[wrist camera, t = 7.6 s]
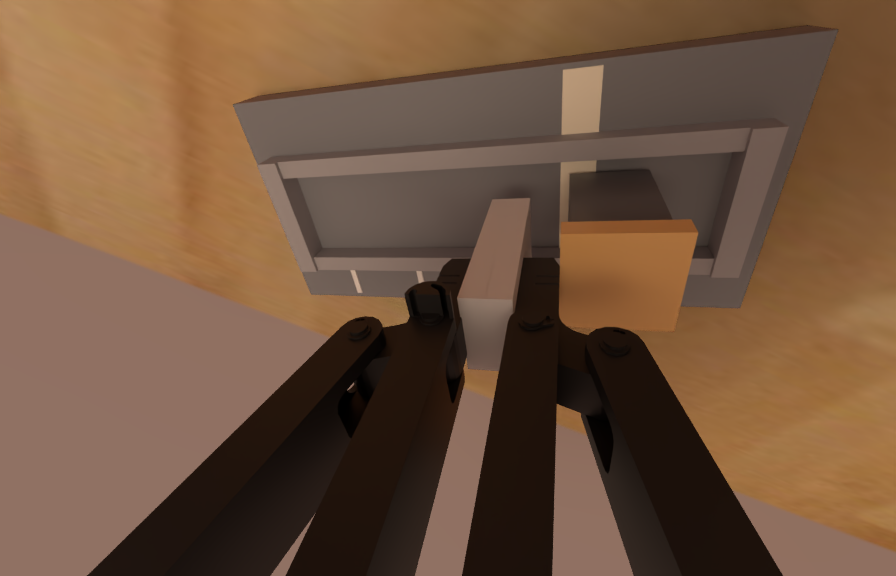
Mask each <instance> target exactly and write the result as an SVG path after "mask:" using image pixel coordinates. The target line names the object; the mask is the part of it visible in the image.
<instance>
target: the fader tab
mask: <svg viewBox="0 0 896 576" xmlns="http://www.w3.org/2000/svg"><path fill="white" fill-rule="evenodd" d="M697 236H698V231H697V229H696V227H695V225H694V223H693V222H692V220H691V219H681V220H673V218H672V216H671V214H670V212H669V210H668V208H667V205H666V203H665V201H664V199H663V197H662V195H661V193H660V191H659V188H658V186H657V184H656V182H655V180H654V178H653V176H652V174H651V172H650V170H634V171H614V172H595V173H575V174H570V176H569V204H568V222H561V237H560V283H559V317H560V319H561V321H562V323H563V324H565V325H566V326H567V327H578V328H603V327H619V328H623V329H627V330H641V331H662V332H674V330H675V326H676V322H677V318H678V314H679V310H680V306H681V302H682V298H683V294H684V290H685V285H686V281H687V277H688V273H689V269H690V265H691V261H692V257H693V253H694V249H695V244H696V240H697Z"/></svg>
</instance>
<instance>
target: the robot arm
mask: <svg viewBox="0 0 896 576" xmlns="http://www.w3.org/2000/svg"><path fill="white" fill-rule="evenodd" d="M559 283H560V265H559V264H558V263H557V261H556V260H555V259H554V258H532V253H531V208H530V198H515V199H492V202H491V205H490V207H489V210H488V213H487V216H486V219H485V221H484V224H483V227H482V230H481V233H480V235H479V238H478V241H477V244H476V247H475V249H474V252H473V255H472V258H452V259H451V260H450V261H448V262H447V263H446V264H445V265H444V266H443V267H442V269H441V272H440V274H439V277H438V278H437V280H436V281H426V282H421V283H418V284H415V285H414V286H412V287H410V288H409V289H408V290H407V291H406V292H405V293H404V295H405V299H406V303H407V307H408V311H409V315H410V317H409V320H408V322H407V323H404V324H400V325H395V326H389V327H384V328H383V327H382V324H381V322H380V321H379V320H378V319H376V318H374V317H366V316H365V317H359V318H355V319H353V320H351V321H348V322H347V323H346V324H344V325H343V326H342V327H341V328H340V329H339V330H338V331H337V332H336V333H335V334H334V335H332V336H331V337H330V338H329V339H328V340H327V341H326V343H325V344H323V345H322V346H321V347H320V348H319V349H318V350H317V351H316V352H315V353H314V354H313V355H312V356H311V357H310V358H309V359H308V360H307V361H306V362H305V363H304V364H303V365H302V366H301V367H300V368H299V369H298V370H297V371H296V372H295V373H294V374H293V375H292V376H291V377H290V378H289V379H288V380H287V381H286V382H285V383H283V385H281V386H280V388H279V389H277V390H276V391H275V392H274V394H272V395H271V396H270V397H269V398H268V399H267V400H266V401H265V402H264V403H263V404H262V405H261V406H260V407H259V408H258V409H257V410H256V411H255V412H254V413H253V414H252V415H251V416H250V417H249V418H248V419H247V420H246V421H245V422H244V423H243V424H242V425H241V426H240V427H239V428H238V429H237V430H235V431H234V433H232V434H231V436H229V437H228V438H227V439H226V440H225V441H224V442H223V443H222V444H221V445H220V446H219V447H218V448H217V449H216V450H215V451H214V452H213V453H212V454H211V455H210V456H209V457H208V458H207V459H206V460H205V461H204V462H203V463H202V464H201V465H200V466H199V467H198V468H197V469H196V470H195V471H194V472H193V473H192V474H191V475H190V476H189V477H187V479H186V480H185V481H183V483H181V485H179V486H178V487H177V488H176V489H175V490H174V491H173V492H172V493H171V494H170V495H169V496H168V497H167V498H166V499H165V500H164V501H163V502H162V503H161V504H160V505H159V506H158V507H157V508H156V509H155V510H154V511H153V512H152V513H151V514H150V515H149V516H148V517H147V518H146V519H145V520H144V521H143V522H142V523H141V524H139V526H137V527H136V528H135V529H134V530H133V531H132V532H131V533H130V534H129V535H128V536H127V537H126V538H125V539H124V540H123V541H122V542H121V543H120V544H119V545H118V546H117V547H116V548H115V549H114V550H113V551H112V552H111V553H110V554H109V555H108V556H107V557H106V558H105V559H104V560H103V561H102V562H101V563H100V564H99V565H98V566H97V567H96V568H95V569H94V570H93V571H92V572H91V573H90V574H88V575H87V576H270V575H271V574H272V573H273V571H274V570H275V568H276V567H277V566H278V564H279V563H280V561H281V560H282V559H283V557H284V556H285V554H286V553H287V552H288V550H289V549H290V547H291V546H292V545H293V543H294V542H295V541H296V539H297V538H298V536H299V535H300V534H301V532H302V531H303V529H304V528H305V527H306V525H307V524H308V523H309V521H310V520H311V518H312V517H313V516H314V514H315V516H314V518H313V520H312V522H311V524H310V526H309V528H308V530H307V532H306V534H305V536H304V538H303V541H302V543H301V545H300V547H299V549H298V551H297V553H296V555H295V557H294V560H293V561H292V563H291V566H290V568H289V570H288V572H287V574H286V576H415V572H416V568H417V565H418V560H419V557H420V553H421V549H422V545H423V541H424V538H425V534H426V530H427V526H428V522H429V518H430V514H431V510H432V507H433V503H434V499H435V495H436V491H437V487H438V483H439V479H440V475H441V472H442V468H443V464H444V460H445V456H446V452H447V448H448V445H449V441H450V437H451V433H452V429H453V425H454V421H455V417H456V413H457V410H458V406H459V402H460V398H461V394H462V390H463V386H464V383H465V376H464V370H463V367H464V364H465V360H466V358H467V365H468V369H479V370H491V371H499V374H498V379H497V385H496V391H495V396H494V402H493V408H492V413H491V418H490V424H489V430H488V435H487V441H486V446H485V452H484V457H483V463H482V468H481V474H480V479H479V485H478V490H477V496H476V502H475V507H474V513H473V518H472V523H471V529H470V534H469V540H468V546H467V551H466V557H465V562H464V568H463V574H462V576H552V559H553V521H554V519H553V518H554V483H555V444H556V442H555V441H556V408H557V404H559V405H562V406H564V407H567V408H569V409H572V410H575V411H577V412H580V413H581V418H582V421H583V424H584V427H585V430H586V433H587V436H588V439H589V442H590V445H591V448H592V451H593V454H594V457H595V460H596V463H597V466H598V469H599V472H600V474H601V478H602V481H603V484H604V487H605V490H606V493H607V496H608V499H609V502H610V505H611V508H612V511H613V514H614V517H615V520H616V523H617V526H618V529H619V532H620V535H621V538H622V541H623V544H624V547H625V550H626V553H627V556H628V559H629V562H630V565H631V568H632V572H633V575H634V576H783V575H782V573H781V572H780V570H779V568H778V567H777V565H776V563H775V562H774V560H773V558H772V557H771V555H770V553H769V551H768V550H767V548H766V546H765V545H764V543H763V541H762V540H761V538H760V536H759V535H758V533H757V531H756V530H755V528H754V526H753V525H752V523H751V521H750V520H749V518H748V516H747V515H746V513H745V511H744V510H743V508H742V507H741V505H740V503H739V501H738V499H737V498H736V496H735V495H734V493H733V491H732V489H731V488H730V486H729V484H728V483H727V481H726V479H725V478H724V476H723V474H722V473H721V471H720V469H719V468H718V466H717V464H716V463H715V461H714V459H713V458H712V456H711V454H710V453H709V451H708V449H707V447H706V446H705V444H704V442H703V441H702V439H701V437H700V436H699V434H698V432H697V431H696V429H695V427H694V426H693V424H692V422H691V421H690V419H689V417H688V416H687V414H686V412H685V411H684V409H683V407H682V406H681V404H680V402H679V401H678V399H677V397H676V395H675V394H674V392H673V390H672V389H671V387H670V385H669V384H668V382H667V380H666V379H665V377H664V375H663V374H662V372H661V370H660V369H659V367H658V365H657V364H656V362H655V360H654V359H653V357H652V355H651V354H650V352H649V350H648V349H647V347H646V345H645V344H644V342H643V341H642V340H641V339H640V338H639V336H638V335H636V334H634V333H633V332H631V331H629V330H627V329H623V328H619V327H603V328H599V329H596V330H594V331H593V332H591V333H590V334H589V335H585V334H582V333H579V332H576V331H573V330H572V329H570V328H568V327H567V326H566V325H565V324H563V323H562V321H561V319H560V317H559ZM353 382H354V386H353V387H352V388H351V389H349V390H348V391H347V389H348V388H349V387H350V386H351V385H352V384H353Z"/></svg>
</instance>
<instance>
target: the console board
mask: <svg viewBox="0 0 896 576" xmlns="http://www.w3.org/2000/svg"><path fill="white" fill-rule="evenodd" d="M837 32H838V29H831V28H823V27H816V26H808V25H807V26H799V27H792V28H784V29H776V30H768V31H760V32H753V33H745V34H737V35H729V36H721V37H714V38H706V39H698V40H690V41H682V42H675V43H667V44H659V45H651V46H643V47H636V48H628V49H620V50H612V51H604V52H597V53H589V54H581V55H573V56H566V57H558V58H550V59H542V60H534V61H527V62H519V63H511V64H503V65H495V66H488V67H480V68H472V69H464V70H456V71H449V72H441V73H433V74H425V75H417V76H410V77H402V78H394V79H386V80H378V81H371V82H363V83H355V84H347V85H339V86H332V87H324V88H316V89H308V90H301V91H293V92H285V93H277V94H269V95H262V96H257V97H254V98H251V99H248V100H245V101H242V102H239V103H236V104H233V107H234V109H235V111H236V114H237V116H238V119H239V121H240V123H241V126H242V128H243V131H244V133H245V136H246V138H247V140H248V143H249V145H250V148H251V150H252V153H253V155H254V157H255V160H256V162H257V167H258V169H259V171H260V174H261V176H262V179H263V181H264V183H265V186H266V188H267V191H268V193H269V196H270V198H271V200H272V203H273V205H274V208H275V210H276V212H277V215H278V217H279V220H280V222H281V224H282V227H283V229H284V232H285V234H286V237H287V239H288V241H289V244H290V246H291V249H292V251H293V253H294V256H295V258H296V261H297V263H298V266H299V268H300V270H301V272H302V273H303V276H304V278H305V281H306V283H307V286H308V288H309V290H310V293H311V294H313V295H344V296H375V297H405V295H404V293H405V292H406V291H407V290H408V289H409V288H410V287H412V286H414V285H415V284H418V283H421V282H426V281H436V280H437V278H438V277H439V274H440V272H441V269H442V267H443V266H444V265H445V264H446V263H447V262H448V261H450V260H451V259H452V258H472V255H473V252H474V249H475V247H476V244H477V241H478V238H479V235H480V233H481V230H482V227H483V224H484V221H485V219H486V216H487V213H488V210H489V207H490V205H491V202H492V199H515V198H530V208H531V253H532V258H554V259H555V260H556V261H557V263H558V264H559V265H560V237H561V222H568V204H569V176H570V174H575V173H595V172H614V171H634V170H650V172H651V174H652V176H653V178H654V180H655V182H656V184H657V186H658V188H659V191H660V193H661V195H662V197H663V199H664V201H665V203H666V205H667V208H668V210H669V212H670V214H671V216H672V218H673V220H681V219H691V220H692V222H693V223H694V225H695V227H696V229H697V231H698V236H697V240H696V244H695V249H694V253H693V257H692V261H691V265H690V269H689V273H688V277H687V281H686V285H685V290H684V294H683V298H682V302H681V306H685V307H716V308H740V307H741V304H742V301H743V298H744V296H745V293H746V290H747V287H748V284H749V281H750V279H751V276H752V273H753V270H754V267H755V264H756V262H757V259H758V256H759V253H760V250H761V247H762V245H763V242H764V239H765V236H766V233H767V230H768V228H769V225H770V222H771V219H772V216H773V213H774V211H775V208H776V205H777V202H778V199H779V197H780V194H781V191H782V188H783V185H784V182H785V180H786V177H787V174H788V171H789V168H790V165H791V163H792V160H793V157H794V154H795V151H796V148H797V146H798V143H799V140H800V137H801V134H802V131H803V129H804V126H805V123H806V120H807V117H808V114H809V112H810V109H811V106H812V103H813V100H814V97H815V95H816V92H817V89H818V86H819V83H820V80H821V78H822V75H823V72H824V69H825V66H826V63H827V61H828V58H829V55H830V52H831V49H832V46H833V44H834V41H835V38H836V35H837Z"/></svg>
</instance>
